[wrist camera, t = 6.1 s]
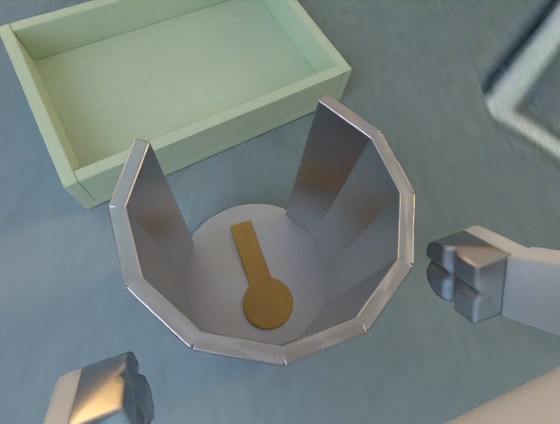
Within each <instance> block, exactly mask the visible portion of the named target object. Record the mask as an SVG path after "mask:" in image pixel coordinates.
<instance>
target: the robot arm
mask: <svg viewBox="0 0 560 424" xmlns="http://www.w3.org/2000/svg"><path fill="white" fill-rule="evenodd" d="M427 256H428V258H429V259H430V260H431V263H430V264H429V266H428V268H427V279H428V281H429V284H430V286H431V288H432V289H433V291H434V292H435V293H436V294H437V295H438V296H439V297H440V298H441V299H443V300H446V301H449V302H453V303H454V307H455V310H456V311H458V312H459V313H460V314H461V315H463V316H464V317H465V318H466V319H468V320H469V321H470V322H471V323H473V324H474V325H475V324H477V323H480V322H482V321H485V320H487V319H490V318H492V317H495V316H497V315H500V314H502V315H501V316H504V317H507V318H510V319H512V320H515V321H518V322H521V323H524V324H526V325H529V326H532V327H535V328H537V329H540V330H543V331H546V332H549V333H551V334H554V335H557V336H560V250H553V249H546V248H539V247H531V248H526V247H524V246H522V245H520V244H518V243H516V242H514V241H512V240H509V239H507V238H505V237H503V236H501V235H499V234H497V233H495V232H493V231H490V230H488V229H486V228H484V227H482V226H476V225H474V226H471V227H469V228H466V229H464V230H461V231H459V232H457V233H455V234H452V235H449V236H447V237H444V238H441V239H438V240H436V241H433V242H430V243H429V245H428V247H427ZM138 364H139V363H138V361H137V359H136V357H135V356H134V354H133V353H132V352H130V351H129V352H126V353H123V354H120V355H117V356H115V357H112V358H109V359H106V360H103V361H100V362H97V363H94V364H91V365H88V366H85V367H84V368H80V369H77V370H74V371H71V372H69V373H66V374H63V375H61V376H60V377H59V378H58V379H57V381H56V384H55V387H54V390H53V394H52V397H51V400H50V403H49V406H48V409H47V412H46V415H45V419H44V422H43V424H150V423H151V421H152V420H153V418H154V405H153V399H152V393H151V390H150V387H149V384H148V382H147V380H146V377H145V376H143V375H140V374H138ZM444 424H560V366H559V367H556V368H554V369H552V370H550V371H548V372H546V373H544V374H542V375H540V376H538V377H536V378H534V379H532V380H530V381H528V382H526V383H524V384H522V385H520V386H518V387H516V388H514V389H512V390H510V391H508V392H506V393H504V394H502V395H500V396H498V397H496V398H494V399H492V400H490V401H488V402H486V403H484V404H482V405H480V406H478V407H476V408H474V409H472V410H470V411H468V412H466V413H464V414H462V415H460V416H458V417H456V418H454V419H452V420H450V421H448V422H446V423H444Z"/></svg>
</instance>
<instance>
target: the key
mask: <svg viewBox="0 0 560 424" xmlns="http://www.w3.org/2000/svg"><path fill="white" fill-rule="evenodd" d="M230 228H231V232H232V235H233V238H234V241H235V244H236V247H237V250H238V253H239V256H240V259H241V262H242V265H243V268H244V271H245V274H246V277H247V280H248V283H249V287H248V288H247V290H246V291H245V294H244V297H243V311H244V314H245V316H246V318H247V319H248V321H249V322H250V323H251V324H252V325H254V326H255V327H257V328H260V329H264V330H271V329H275V328H278V327H280V326H281V325H283V324H284V323H285V322H286V321H287V320H288V318H289V317H290V315H291V313H292V310H293V297H292V294H291V291H290V290H289V288H288V287H287V286H286V285H285V284H284V283H283V282H282V281H280V280H278V279H275V278H271V275H270V273H269V270H268V267H267V264H266V262H265V259H264V256H263V253H262V250H261V248H260V245H259V242H258V239H257V237H256V234H255V231H254V228H253V226H252V223H251V221H250V220H248V221H244V222H241V223H238V224H235V225H231V226H230Z"/></svg>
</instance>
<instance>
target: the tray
mask: <svg viewBox="0 0 560 424" xmlns="http://www.w3.org/2000/svg"><path fill="white" fill-rule="evenodd" d="M0 36H1V38H2V40H3V43H4V45H5V48H6V50H7V52H8V55H9V57H10V60H11V62H12V64H13V67H14V69H15V72H16V74H17V76H18V79H19V81H20V84H21V86H22V88H23V91H24V93H25V96H26V98H27V100H28V103H29V105H30V108H31V110H32V112H33V115H34V117H35V120H36V122H37V124H38V127H39V129H40V132H41V134H42V136H43V139H44V141H45V144H46V146H47V148H48V151H49V153H50V156H51V158H52V161H53V163H54V165H55V168H56V170H57V173H58V175H59V177H60V180H61V182H62V185H63V187H64V188H65V189H66V190H67V191H68V192H69V193H70V194H71V195H72V196H73V197H75V198H76V199H77V200H78V201H79V202H80V203H81V204H82V205H83V206H84V207H85V208H86V209H90V208H93V207H95V206H97V205H99V204H102V203H104V202H106V201H109V200H111V198H112V196H113V193H114V191H115V188H116V185H117V183H118V180H119V178H120V175H121V173H122V170H123V168H124V165H125V163H126V160H127V158H128V155H129V152H130V150H131V147H132V145H133V142H134V140H135V139H139V140H144V141H149V142H150V143H151V146H152V148H153V150H154V153H155V155H156V157H157V160H158V162H159V164H160V166H161V169H162V171H163V173H164V176H166V175H169V174H171V173H173V172H175V171H178V170H180V169H182V168H185V167H187V166H189V165H192V164H194V163H196V162H199V161H201V160H203V159H205V158H208V157H210V156H212V155H215V154H217V153H219V152H222V151H224V150H226V149H228V148H231V147H233V146H235V145H238V144H240V143H242V142H245V141H247V140H249V139H251V138H254V137H256V136H258V135H261V134H263V133H265V132H268V131H270V130H272V129H275V128H277V127H279V126H281V125H284V124H286V123H288V122H291V121H293V120H295V119H298V118H300V117H302V116H304V115H307V114H309V113H311V112H314V111H316V108H317V104H318V101H319V99H320V98H321V97H322V96H323V95H325V94H326V93H328V94H329V95H330V96H332V97H333V98H335V99H336V100H337V101H339V100H341V97H342V94H343V92H344V89H345V86H346V84H347V81H348V78H349V76H350V73H351V70H352V69H351V67H350V66H349V65H348V64H347V62H346V61H345V60H344V59H343V57H342V56H341V55H340V54H339V52H338V51H337V50H336V49H335V47H334V46H333V45H332V44H331V42H330V41H329V40H328V39H327V37H326V36H325V35H324V34H323V32H322V31H321V30H320V29H319V27H318V26H317V25H316V24H315V22H314V21H313V20H312V19H311V17H310V16H309V15H308V14H307V12H306V11H305V10H304V9H303V7H302V6H301V5H300V4H299V2H298V1H297V0H92V1H89V2H85V3H82V4H78V5H74V6H71V7H67V8H64V9H60V10H56V11H53V12H49V13H46V14H42V15H38V16H35V17H31V18H28V19H24V20H21V21H17V22H13V23H11V24H6V25H2V26H0Z"/></svg>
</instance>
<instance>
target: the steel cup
mask: <svg viewBox="0 0 560 424" xmlns="http://www.w3.org/2000/svg"><path fill="white" fill-rule="evenodd" d="M109 207H110V208H109V209H108V211H109V216H110V220H111V225H112V230H113V234H114V239H115V244H116V248H117V253H118V257H119V262H120V267H121V271H122V276H123V281H124V285H125V286H126V287H127V290H128V291H129V292H130V293H131V294H132V295H133V296H134V297H135V298H136V299H138V300H139V301H140V302H141V303H142V304H143V305H144V306H145V307H146V308H147V309H148V310H149V311H150V312H151V313H152V314H153V315H154V316H155V317H157V318H158V319H159V320H160V321H161V322H162V323H163V324H164V325H165V326H166V327H167V328H168V329H169V330H170V331H171V332H172V333H173V334H175V335H176V336H177V337H178V338H179V339H180V340H181V341H182V342H183V343H184V344H185V345H186V346H187V347H188V348H190V349H193V350H194V351H198V352H204V353H209V354H215V355H220V356H226V357H231V358H237V359H242V360H248V361H253V362H259V363H264V364H270V365H275V366H280V367H282V366H289V365H292V364H294V363H296V362H299V361H301V360H304V359H306V358H309V357H311V356H313V355H316V354H318V353H321V352H323V351H326V350H328V349H330V348H333V347H335V346H338V345H340V344H343V343H345V342H347V341H350V340H352V339H355V338H357V337H360V336H362V335H364V334H366V333H367V332H368V331H370V330H371V328H372V327H373V325H374V324H375V322H376V321H377V319H378V318H379V316H380V315H381V313H382V312H383V310H384V309H385V307H386V306H387V304H388V303H389V302H390V300H391V299H392V297H393V296H394V294H395V293H396V291H397V290H398V288H399V287H400V285H401V284H402V282H403V281H404V279H405V278H406V276H407V275H408V273H409V272H410V270H411V269H412V265H413V263H414V214H415V194H414V190H413V188H412V186H411V184H410V183H409V181H408V179H407V177H406V175H405V173H404V172H403V170H402V168H401V166H400V164H399V163H398V161H397V159H396V157H395V155H394V153H393V152H392V150H391V148H390V146H389V144H388V142H387V141H386V139H385V137H384V135H383V133H380V130H379V129H377V128H376V127H374V126H373V125H371V124H370V123H369V122H367V121H366V120H364V119H363V118H362V117H360V116H359V115H357V114H356V113H354V112H353V111H352V110H350V109H349V108H347V107H346V106H345V105H343V104H342V103H340V102H339V101H337V100H336V99H335V98H333V97H332V96H330V95H329V94H328V93H326V94H325V95H323V96H322V97H321V98H320V99H319V101H318V104H317V108H316V111H315V114H314V118H313V121H312V125H311V128H310V132H309V135H308V138H307V142H306V145H305V149H304V152H303V156H302V159H301V162H300V166H299V169H298V173H297V176H296V180H295V183H294V187H293V190H292V193H291V197H290V200H289V204H288V207H287V209H284V208H282V207H279V206H275V205H271V204H263V203H250V204H242V205H237V206H233V207H230V208H228V209H225V210H223V211H221V212H219V213H217V214H215V215H214V216H212V217H211V218H209V219H208V220H207V221H205V222H204V223H203V224H202V225H201V226H200V227H199V228H198V229H197V230H196V231H195V233H194V234H193V235H192V237H191V236H190V233H189V231H188V229H187V226H186V224H185V222H184V219H183V217H182V215H181V213H180V210H179V208H178V206H177V203H176V201H175V199H174V196H173V194H172V192H171V190H170V187H169V185H168V183H167V180H166V178H165V176H164V173H163V171H162V169H161V166H160V164H159V162H158V160H157V157H156V155H155V153H154V150H153V148H152V146H151V143H150V142H149V141H144V140H139V139H135V140H134V142H133V145H132V147H131V150H130V152H129V155H128V158H127V160H126V163H125V165H124V168H123V170H122V173H121V175H120V178H119V180H118V183H117V185H116V188H115V191H114V193H113V196H112V198H111V201H110V203H109ZM248 220H250V221H251V223H252V226H253V228H254V231H255V234H256V237H257V239H258V242H259V245H260V248H261V250H262V253H263V256H264V259H265V262H266V264H267V267H268V270H269V273H270V275H271V278H275V279H278V280H280V281H282V282H283V283H284V284H285V285H286V286H287V287H288V288H289V290H290V291H291V294H292V297H293V310H292V313H291V315H290V317H289V318H288V320H287V321H286V322H285V323H284V324H283V325H281V326H280V327H278V328H275V329H271V330H264V329H260V328H257V327H255V326H254V325H252V324H251V323H250V322H249V321H248V319H247V318H246V316H245V314H244V311H243V297H244V294H245V291H246V290H247V288H248V287H249V283H248V280H247V277H246V274H245V271H244V268H243V265H242V262H241V259H240V256H239V253H238V250H237V247H236V244H235V241H234V238H233V235H232V232H231V228H230V226H231V225H235V224H238V223H241V222H244V221H248Z"/></svg>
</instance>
